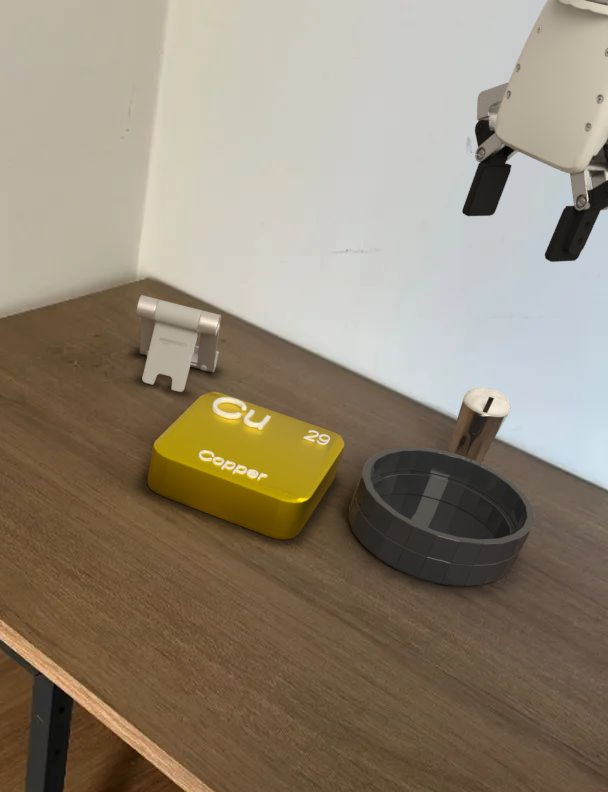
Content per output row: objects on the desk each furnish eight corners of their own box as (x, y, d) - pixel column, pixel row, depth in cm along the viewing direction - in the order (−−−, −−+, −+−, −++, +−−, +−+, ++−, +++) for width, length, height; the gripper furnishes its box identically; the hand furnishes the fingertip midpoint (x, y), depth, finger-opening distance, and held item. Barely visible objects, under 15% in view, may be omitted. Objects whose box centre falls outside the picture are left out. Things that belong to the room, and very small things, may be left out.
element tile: (138, 489, 88) (146, 443, 85) (200, 424, 99) (209, 382, 96) (291, 547, 84) (305, 501, 81) (338, 474, 95) (352, 431, 92)
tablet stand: (215, 369, 109) (230, 297, 104) (200, 398, 103) (215, 323, 98) (143, 350, 110) (154, 278, 105) (124, 377, 104) (135, 302, 99)
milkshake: (430, 480, 97) (467, 390, 90) (438, 457, 101) (474, 369, 94) (475, 494, 96) (515, 404, 89) (481, 470, 100) (520, 382, 93)
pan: (484, 500, 95) (504, 457, 92) (534, 598, 84) (559, 552, 81) (333, 483, 94) (348, 438, 91) (364, 580, 82) (382, 532, 79)
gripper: (755, 18, 63) (629, 277, 74) (564, -34, 74) (480, 199, 85) (680, 10, 60) (561, 281, 71) (492, -43, 71) (415, 199, 82)
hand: (517, 236), depth 78 cm, fingers open, 9 cm apart
